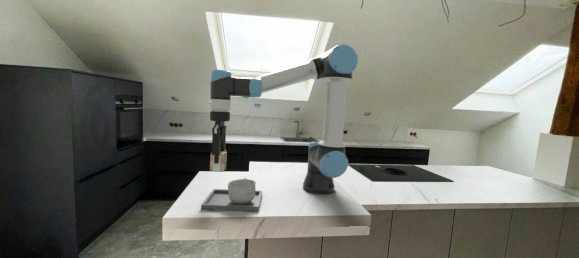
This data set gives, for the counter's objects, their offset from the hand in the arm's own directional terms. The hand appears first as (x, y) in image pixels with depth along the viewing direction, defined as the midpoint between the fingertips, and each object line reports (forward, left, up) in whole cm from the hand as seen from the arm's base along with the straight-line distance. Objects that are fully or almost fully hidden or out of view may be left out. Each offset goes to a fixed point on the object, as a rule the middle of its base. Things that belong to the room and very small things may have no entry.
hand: (218, 169), depth 104 cm
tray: (-7, 0, -13) cm, 14 cm away
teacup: (-10, 0, -13) cm, 16 cm away
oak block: (0, 0, 0) cm, 0 cm away
